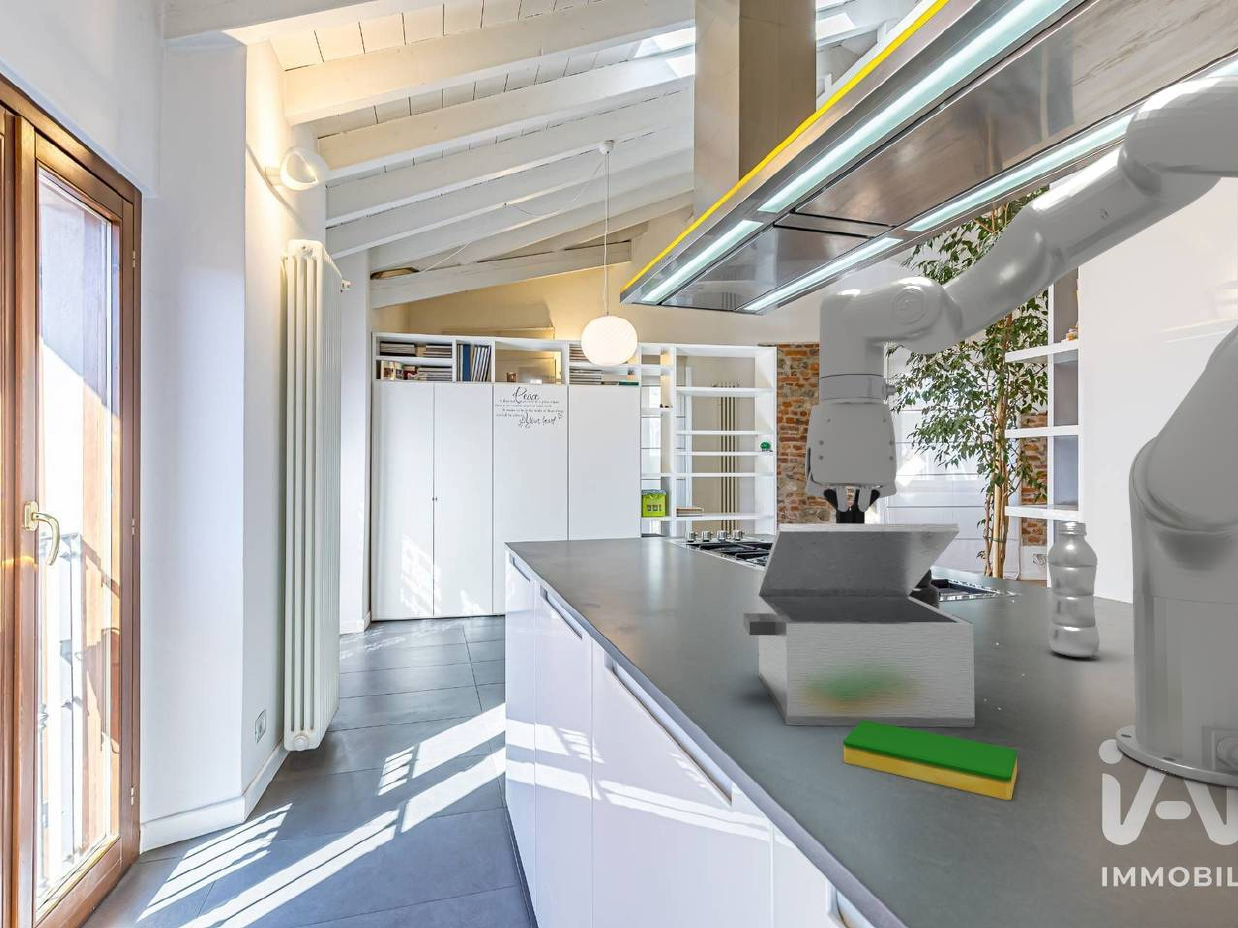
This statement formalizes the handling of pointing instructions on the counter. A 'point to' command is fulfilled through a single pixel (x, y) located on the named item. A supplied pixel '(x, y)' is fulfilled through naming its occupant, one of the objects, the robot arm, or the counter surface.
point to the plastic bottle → (1072, 592)
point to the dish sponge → (933, 758)
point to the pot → (864, 660)
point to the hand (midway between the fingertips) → (850, 543)
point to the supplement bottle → (926, 591)
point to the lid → (852, 558)
